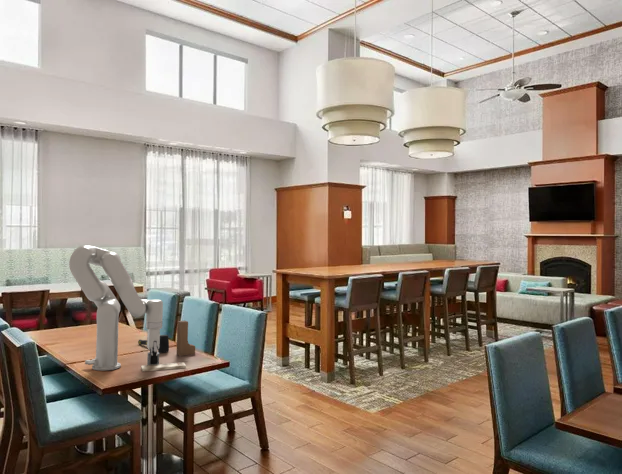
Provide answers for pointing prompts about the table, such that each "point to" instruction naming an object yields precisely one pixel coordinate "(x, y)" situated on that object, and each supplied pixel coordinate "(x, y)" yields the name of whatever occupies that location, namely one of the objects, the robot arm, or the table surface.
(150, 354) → the block
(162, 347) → the mallet
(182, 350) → the wooden block
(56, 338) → the table surface
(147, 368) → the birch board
